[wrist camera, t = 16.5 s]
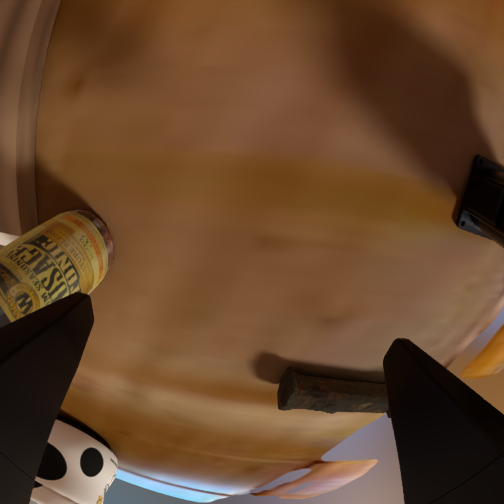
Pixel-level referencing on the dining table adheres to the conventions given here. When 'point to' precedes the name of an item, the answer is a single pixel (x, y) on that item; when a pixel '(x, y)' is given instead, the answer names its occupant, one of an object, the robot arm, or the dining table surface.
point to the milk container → (74, 467)
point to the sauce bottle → (53, 263)
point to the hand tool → (330, 394)
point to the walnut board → (21, 108)
